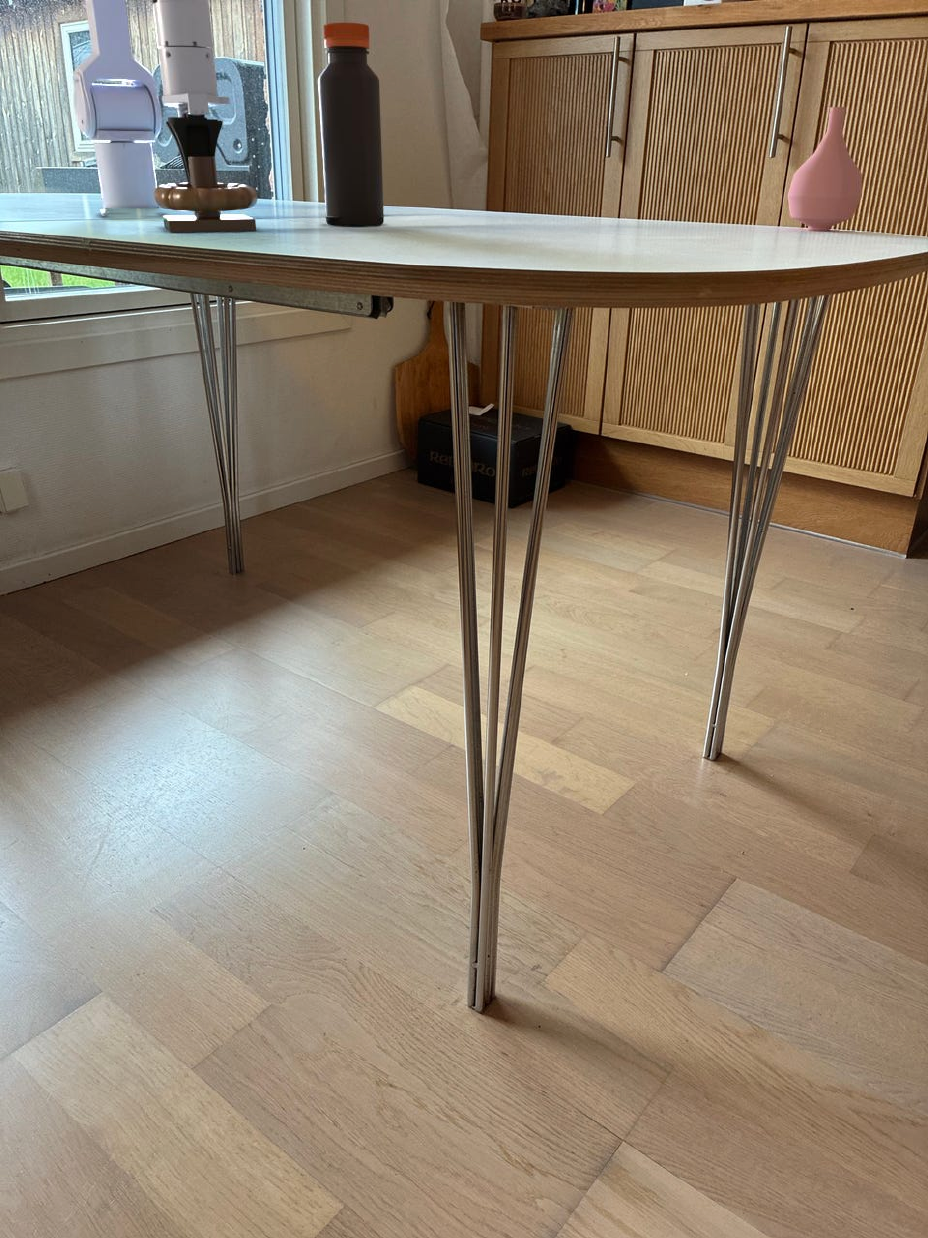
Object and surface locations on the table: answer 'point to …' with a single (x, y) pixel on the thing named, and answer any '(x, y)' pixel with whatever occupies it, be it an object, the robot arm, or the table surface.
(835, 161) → the pink vase
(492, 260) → the table surface
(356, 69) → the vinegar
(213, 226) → the wooden peg stand
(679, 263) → the table surface
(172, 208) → the scalloped wooden ring
